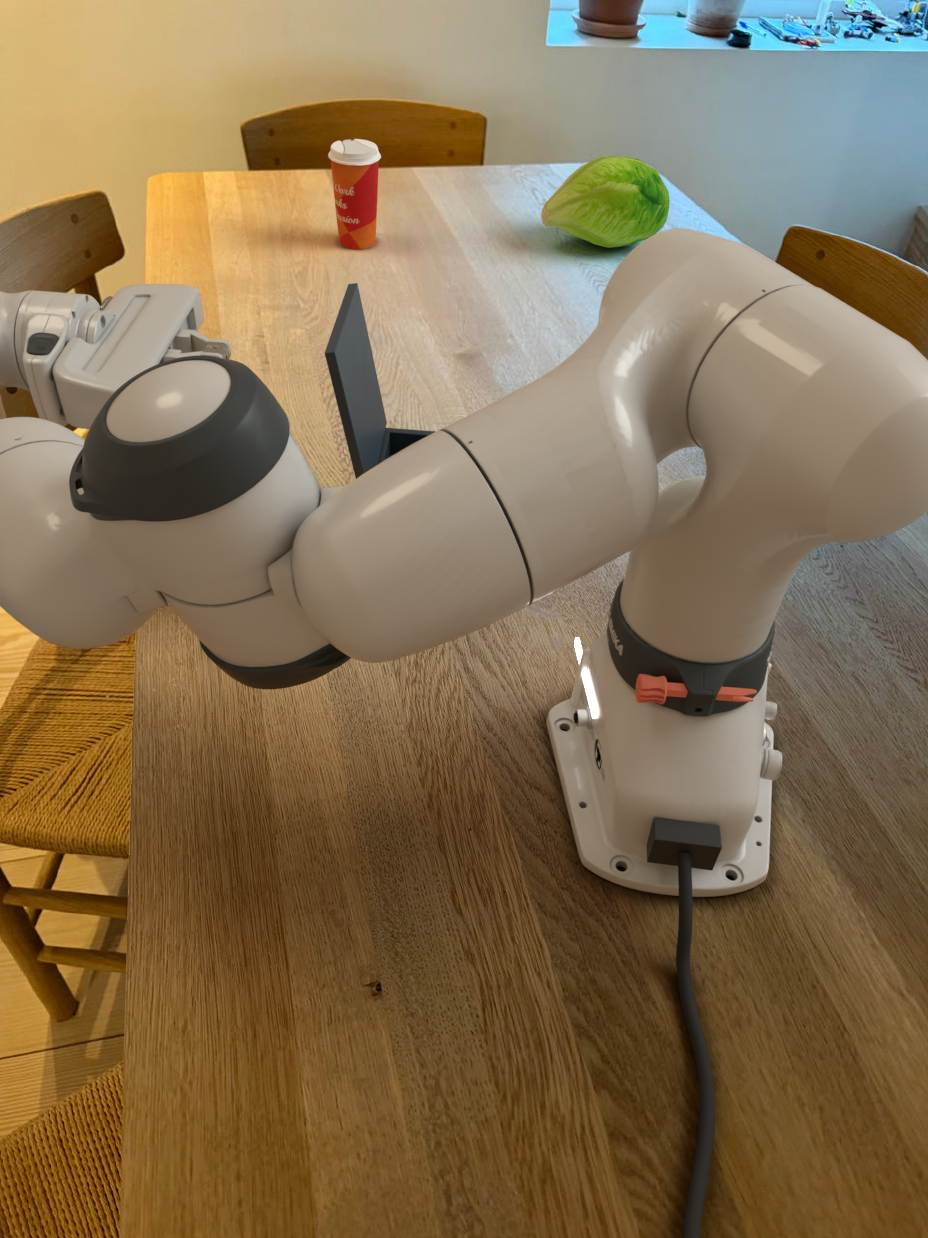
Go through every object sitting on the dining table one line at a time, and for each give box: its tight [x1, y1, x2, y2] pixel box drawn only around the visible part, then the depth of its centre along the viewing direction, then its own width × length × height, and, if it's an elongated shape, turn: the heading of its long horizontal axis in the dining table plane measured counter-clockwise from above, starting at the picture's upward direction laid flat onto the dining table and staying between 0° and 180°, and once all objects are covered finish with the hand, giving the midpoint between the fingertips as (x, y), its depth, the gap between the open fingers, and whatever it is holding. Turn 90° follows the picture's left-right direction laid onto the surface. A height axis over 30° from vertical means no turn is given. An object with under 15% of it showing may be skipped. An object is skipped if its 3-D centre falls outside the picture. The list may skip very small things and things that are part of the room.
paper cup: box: [327, 138, 382, 250], centre depth 143 cm, size 8×8×14 cm
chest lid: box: [324, 282, 388, 479], centre depth 86 cm, size 14×13×1 cm
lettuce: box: [540, 155, 670, 249], centre depth 147 cm, size 15×20×14 cm
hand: (226, 357), depth 84 cm, fingers closed
